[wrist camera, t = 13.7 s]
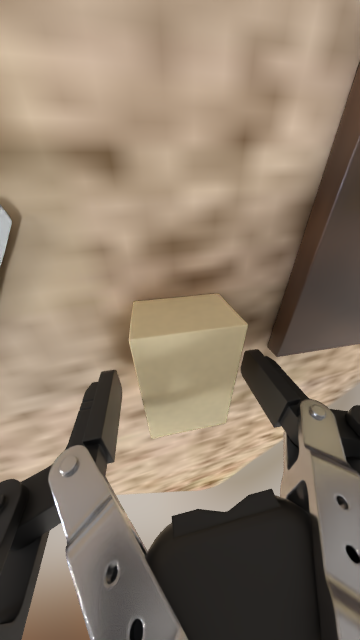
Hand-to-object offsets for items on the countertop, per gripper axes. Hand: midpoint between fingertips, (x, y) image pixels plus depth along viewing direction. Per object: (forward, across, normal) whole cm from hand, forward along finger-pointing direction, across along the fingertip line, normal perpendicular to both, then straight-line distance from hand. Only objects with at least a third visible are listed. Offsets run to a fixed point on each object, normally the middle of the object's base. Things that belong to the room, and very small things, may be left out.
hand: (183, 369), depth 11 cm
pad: (+2, 0, 0) cm, 2 cm away
